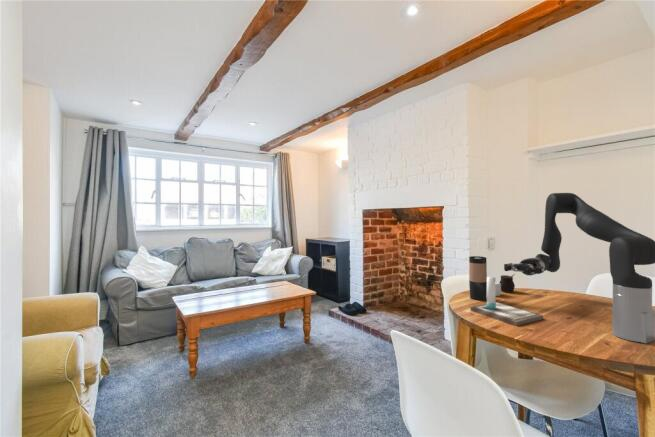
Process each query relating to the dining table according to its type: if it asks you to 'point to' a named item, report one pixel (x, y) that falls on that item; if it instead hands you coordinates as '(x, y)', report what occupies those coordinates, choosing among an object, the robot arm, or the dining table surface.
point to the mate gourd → (507, 283)
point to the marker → (491, 293)
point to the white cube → (497, 288)
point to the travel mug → (478, 277)
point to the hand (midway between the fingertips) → (515, 270)
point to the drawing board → (508, 314)
